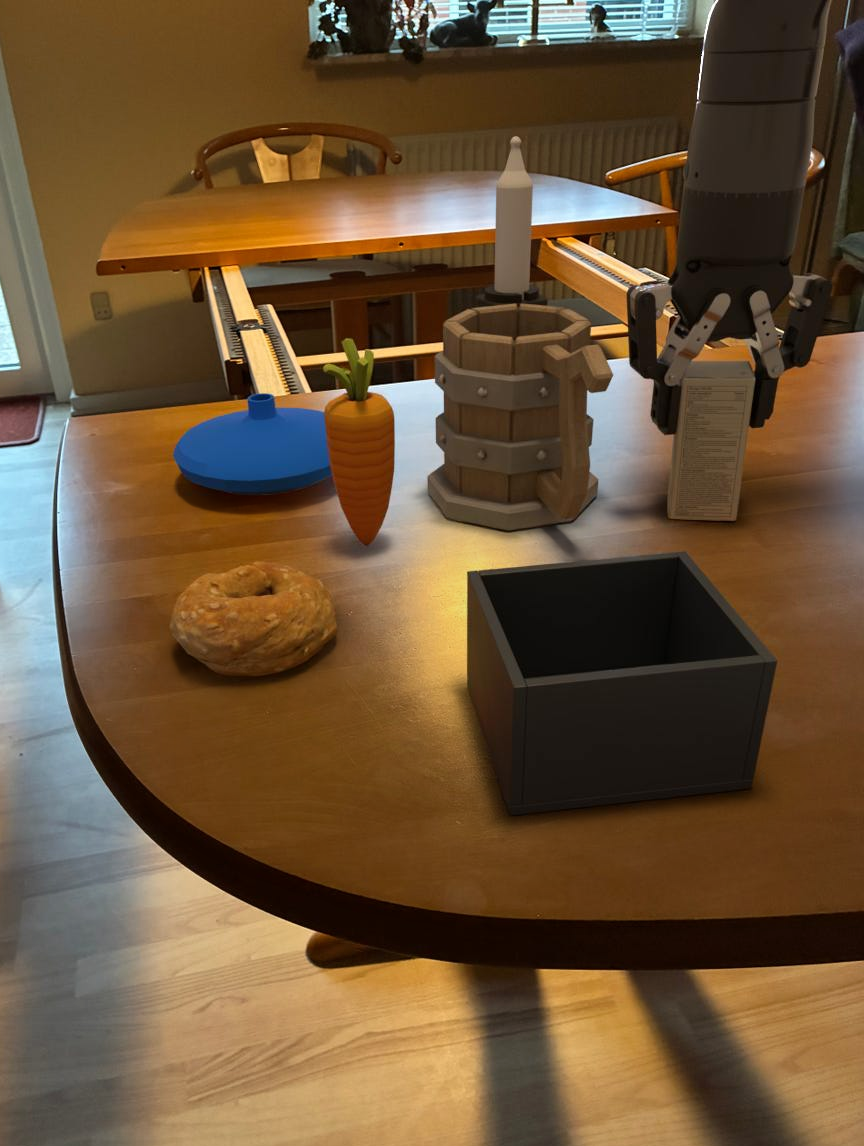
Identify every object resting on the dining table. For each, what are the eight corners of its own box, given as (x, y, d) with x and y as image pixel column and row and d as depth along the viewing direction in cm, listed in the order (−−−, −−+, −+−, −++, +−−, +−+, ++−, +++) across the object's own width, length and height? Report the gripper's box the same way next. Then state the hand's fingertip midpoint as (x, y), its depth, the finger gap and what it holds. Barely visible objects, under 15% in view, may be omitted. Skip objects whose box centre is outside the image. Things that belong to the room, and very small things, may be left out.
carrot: (394, 562, 71) (384, 353, 63) (327, 559, 71) (309, 353, 64) (404, 532, 75) (397, 333, 67) (341, 529, 76) (326, 332, 68)
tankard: (415, 477, 84) (410, 296, 76) (553, 458, 86) (562, 280, 78) (495, 584, 67) (500, 367, 59) (663, 556, 70) (690, 344, 62)
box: (732, 500, 77) (754, 359, 71) (736, 523, 74) (760, 377, 68) (663, 496, 78) (679, 358, 72) (664, 519, 75) (681, 375, 69)
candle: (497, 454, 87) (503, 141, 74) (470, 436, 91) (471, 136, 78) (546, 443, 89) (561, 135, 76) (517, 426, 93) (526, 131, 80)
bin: (670, 665, 58) (685, 550, 54) (752, 788, 48) (778, 660, 44) (466, 686, 57) (466, 571, 53) (509, 816, 48) (514, 687, 44)
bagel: (377, 633, 62) (373, 566, 60) (239, 708, 56) (228, 637, 54) (278, 583, 69) (271, 521, 66) (144, 646, 62) (130, 580, 60)
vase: (181, 525, 77) (166, 440, 74) (175, 455, 91) (163, 379, 87) (376, 501, 80) (372, 417, 76) (343, 436, 93) (338, 361, 89)
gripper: (656, 194, 60) (631, 454, 69) (881, 179, 61) (828, 438, 70) (617, 178, 66) (599, 419, 75) (822, 166, 67) (780, 404, 76)
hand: (709, 427), depth 72 cm, fingers closed on box, 6 cm apart
